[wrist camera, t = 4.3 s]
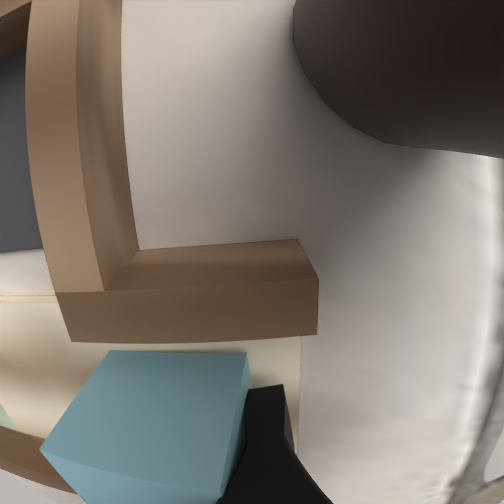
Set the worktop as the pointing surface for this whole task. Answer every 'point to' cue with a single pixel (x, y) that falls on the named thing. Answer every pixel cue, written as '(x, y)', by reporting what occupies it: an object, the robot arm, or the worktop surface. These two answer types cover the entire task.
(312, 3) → the bottle
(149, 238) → the worktop surface
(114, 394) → the block
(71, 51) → the wooden zigzag frame
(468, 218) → the worktop surface
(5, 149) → the pit mat
